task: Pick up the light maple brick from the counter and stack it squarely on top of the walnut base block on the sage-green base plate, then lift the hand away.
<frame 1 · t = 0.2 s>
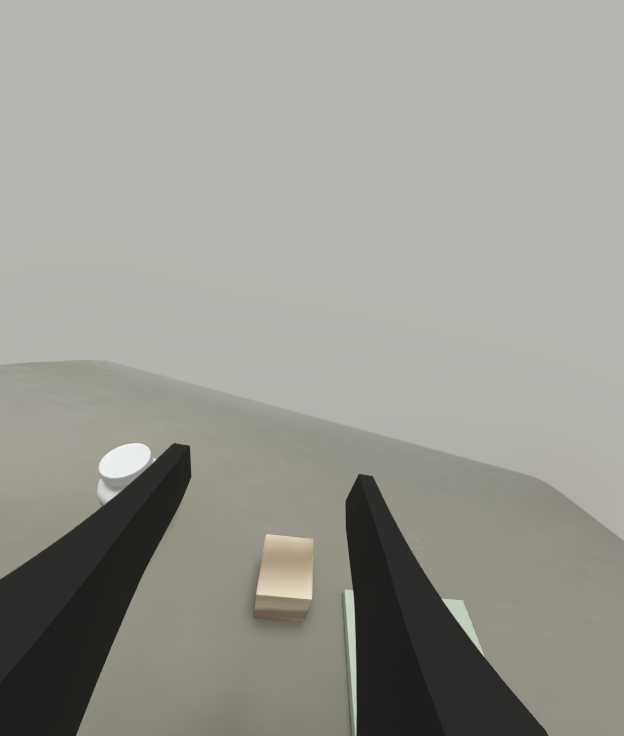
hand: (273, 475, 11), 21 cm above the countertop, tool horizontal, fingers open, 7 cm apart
supplement bottle: (144, 519, 28), on the countertop
maple brick: (281, 588, 25), on the countertop
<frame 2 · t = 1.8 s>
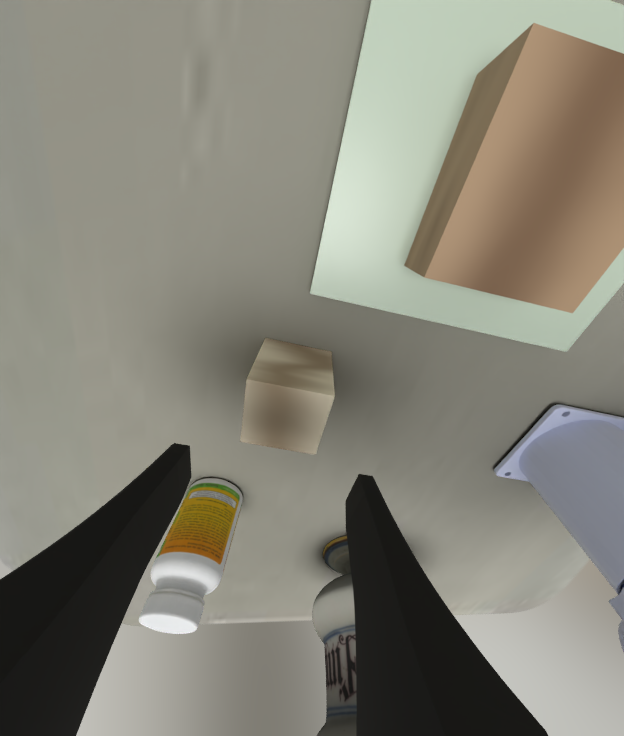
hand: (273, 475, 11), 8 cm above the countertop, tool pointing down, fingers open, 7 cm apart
baseplate: (493, 205, 13), on the countertop
base block: (528, 202, 10), on the baseplate, point 2 cm above the countertop
supplement bottle: (217, 491, 26), on the countertop
maple brick: (293, 372, 18), on the countertop
apothecary jar: (362, 551, 31), on the countertop
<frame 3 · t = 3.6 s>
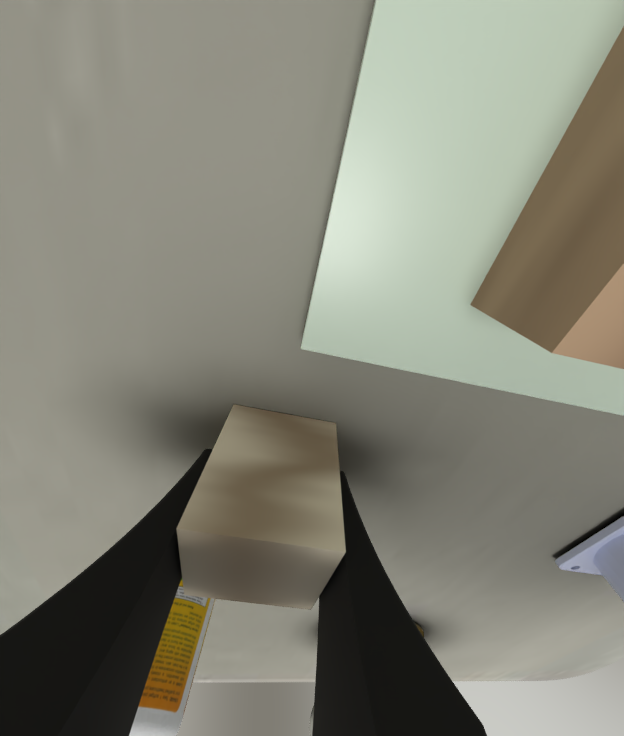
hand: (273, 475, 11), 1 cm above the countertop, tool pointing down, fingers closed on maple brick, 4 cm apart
supplement bottle: (186, 572, 20), on the countertop
maple brick: (278, 448, 12), on the countertop, touching gripper
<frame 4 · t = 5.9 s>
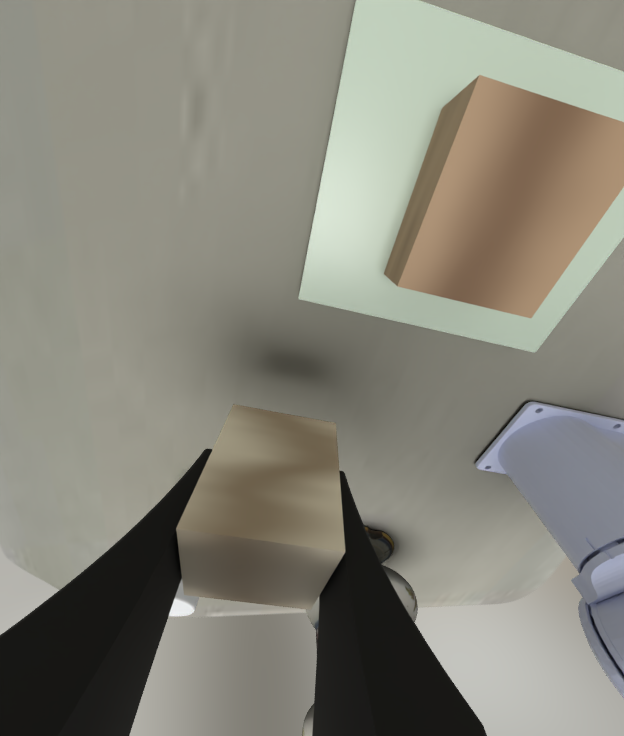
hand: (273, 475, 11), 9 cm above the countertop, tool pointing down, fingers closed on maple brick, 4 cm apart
baseplate: (463, 219, 14), on the countertop
base block: (489, 220, 12), on the baseplate, point 2 cm above the countertop
supplement bottle: (214, 484, 27), on the countertop
maple brick: (278, 448, 12), point 8 cm above the countertop, touching gripper
apothecary jar: (353, 543, 33), on the countertop
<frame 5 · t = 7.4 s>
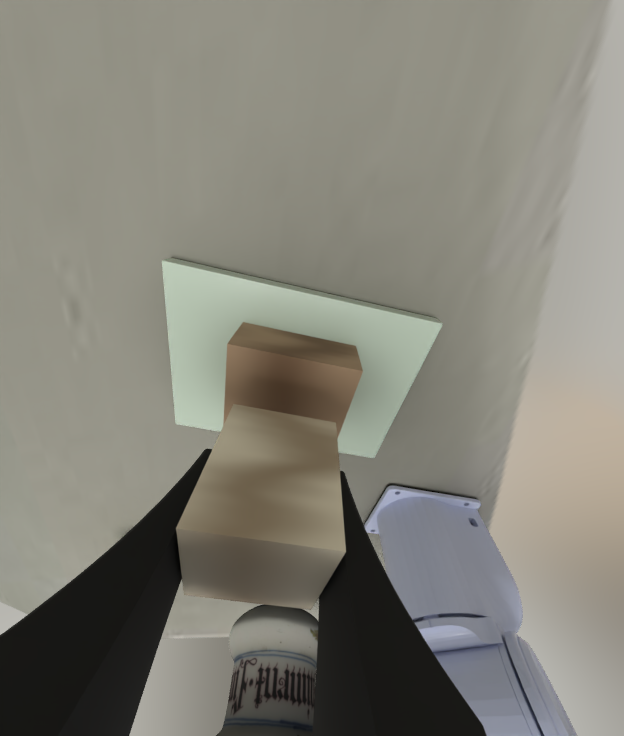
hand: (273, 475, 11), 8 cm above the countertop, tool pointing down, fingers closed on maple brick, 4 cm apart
baseplate: (292, 373, 18), on the countertop
base block: (288, 394, 16), on the baseplate, point 2 cm above the countertop
maple brick: (278, 448, 12), point 7 cm above the countertop, touching gripper
apothecary jar: (283, 582, 37), on the countertop
when the fingers open (7 cm above the countertop, at t = 8.5 s): maple brick drops 1 cm, resting on base block.
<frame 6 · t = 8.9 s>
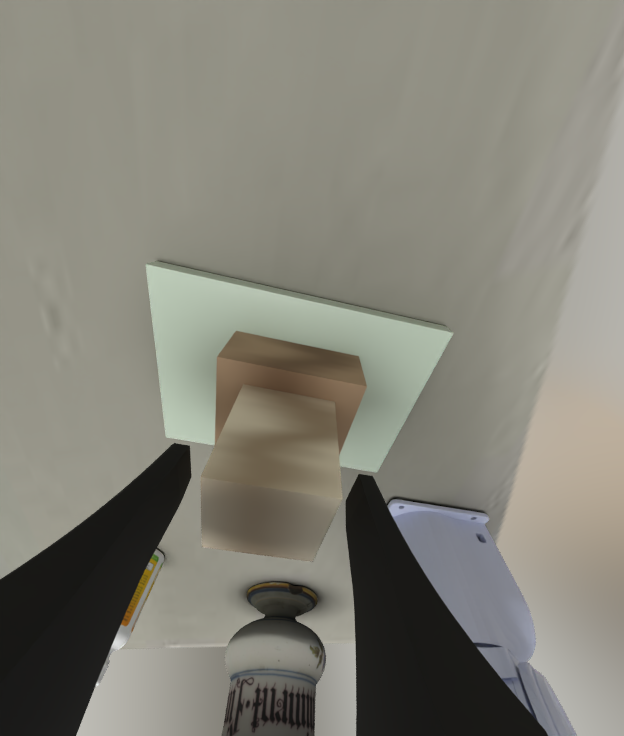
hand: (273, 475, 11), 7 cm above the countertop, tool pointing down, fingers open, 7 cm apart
baseplate: (290, 383, 17), on the countertop
base block: (285, 408, 15), on the baseplate, point 2 cm above the countertop
supplement bottle: (143, 550, 30), on the countertop
maple brick: (282, 426, 13), point 4 cm above the countertop, touching base block
apothecary jar: (282, 594, 36), on the countertop
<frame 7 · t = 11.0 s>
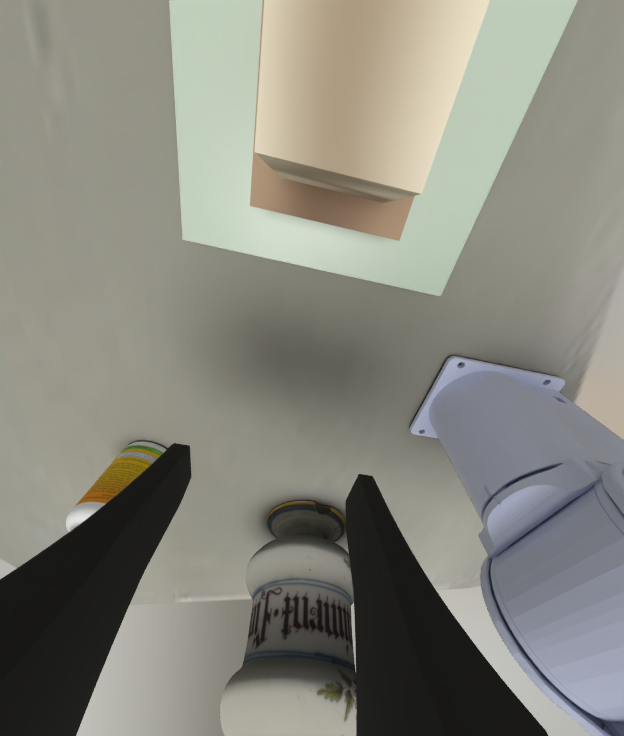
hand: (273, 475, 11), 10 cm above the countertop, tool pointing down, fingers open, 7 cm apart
baseplate: (340, 146, 13), on the countertop
base block: (343, 132, 11), on the baseplate, point 2 cm above the countertop
supplement bottle: (153, 456, 27), on the countertop
maple brick: (347, 121, 10), point 4 cm above the countertop, touching base block
apothecary jar: (306, 521, 32), on the countertop
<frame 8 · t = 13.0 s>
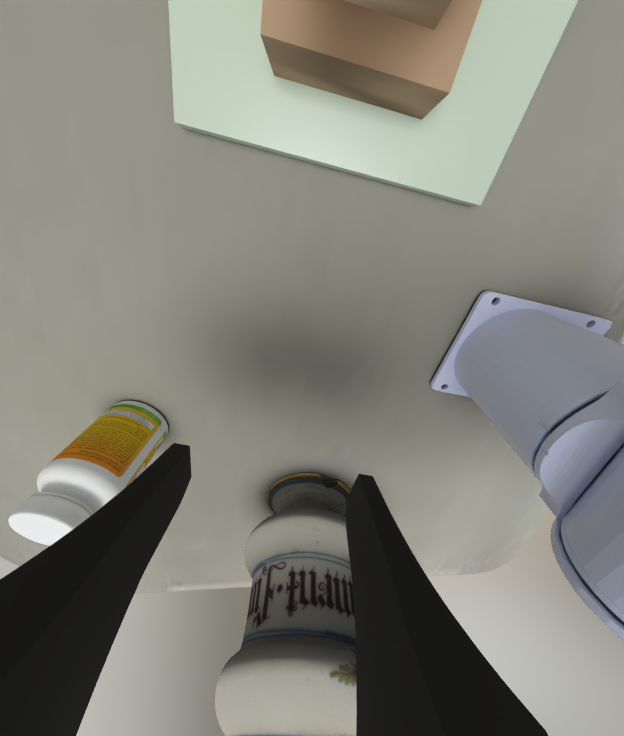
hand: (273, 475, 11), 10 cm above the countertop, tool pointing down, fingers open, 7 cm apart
supplement bottle: (141, 419, 24), on the countertop
apothecary jar: (309, 497, 30), on the countertop
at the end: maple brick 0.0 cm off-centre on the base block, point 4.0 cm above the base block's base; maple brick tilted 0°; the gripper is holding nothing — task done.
